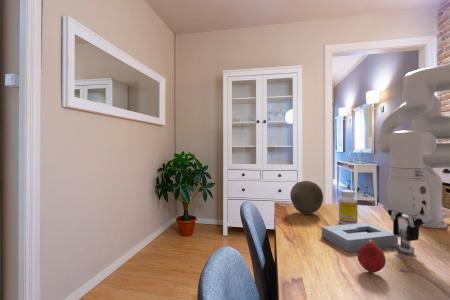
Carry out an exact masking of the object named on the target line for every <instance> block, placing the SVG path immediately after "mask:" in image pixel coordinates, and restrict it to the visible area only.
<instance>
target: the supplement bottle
mask: <svg viewBox="0 0 450 300" xmlns="http://www.w3.org/2000/svg"><path fill="white" fill-rule="evenodd" d="M340 194H341V196H339V198H338V222H339V223H340V224H341V225H346V224H357V223H358V199H357V198H356V197H355V195H356V192H355V191H354V190H351V189H350V190H348V189H342V190H341V193H340Z"/></svg>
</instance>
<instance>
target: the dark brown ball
mask: <svg viewBox="0 0 450 300" xmlns="http://www.w3.org/2000/svg"><path fill="white" fill-rule="evenodd" d="M323 193H324V192H323V191H322V189H321V187H320V186H319V185H318V183H315V182H313V181H309V180H303V181H298V182H296V183H295V184H294V185H293V186H292V188H291V189H290V193H289V195H290V200H291V202H292V205H293V207H294V208H295V209H296V211H297V212H299V213H301V214H304V215H310V214H313V213H315V212H317V211H319V209H320V208H321V206H322V205H323V203H324V194H323Z"/></svg>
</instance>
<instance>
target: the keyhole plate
mask: <svg viewBox="0 0 450 300" xmlns="http://www.w3.org/2000/svg"><path fill="white" fill-rule="evenodd" d="M321 237H322V238H323V239H325V240H327V241H329V242H330V243H332V244H333V245H335V246H337V247H339V248H341V249H342V250H344V251H346V252H347V253H351V252H358V250H359V248H360V247H361V246H362V245H364V244H367V243H368V242H369V240H371V239H372V240H373V241H374V244H375V245H377V246H378V247H379V248H380V249H381V248H382V249H383V248H389V247H397V245H399V236H398V235H394V234H393V231H389V230H387V229H384V228H383V227H382V228H381V227H379V226H376V225H373V224H371V223H368V222H361V223H360V222H357V224H346V225H345V224H337V225H328V226H321Z"/></svg>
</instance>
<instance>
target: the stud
mask: <svg viewBox="0 0 450 300" xmlns="http://www.w3.org/2000/svg"><path fill="white" fill-rule="evenodd" d="M408 226H410V225H409V218H408V217H407V216H406V215H405V216H404V215H402V216H398V238H400V244H399V243H398V245H397V246H396V251H397V252H398V253H400V254H402V255H406V256H414V255H415V247H413V246H411V241H409V240H408V239H407V227H408Z"/></svg>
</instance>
